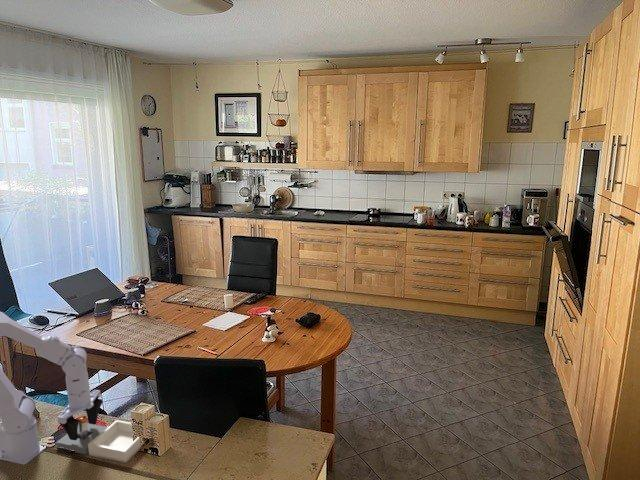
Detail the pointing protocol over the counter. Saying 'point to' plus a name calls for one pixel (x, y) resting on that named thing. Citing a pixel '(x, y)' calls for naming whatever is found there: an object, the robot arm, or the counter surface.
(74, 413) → the robot arm
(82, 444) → the lock plate
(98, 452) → the tray
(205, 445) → the counter surface
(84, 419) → the lock pin
